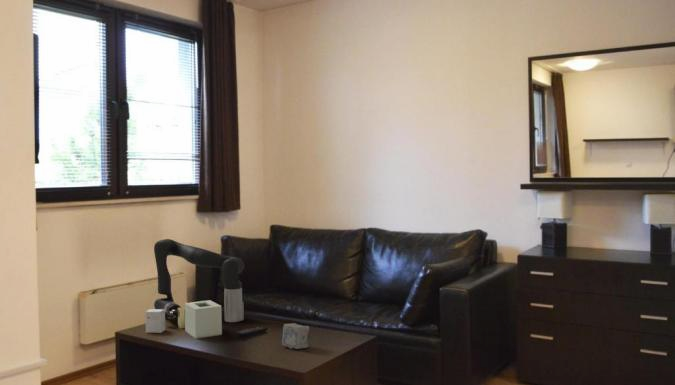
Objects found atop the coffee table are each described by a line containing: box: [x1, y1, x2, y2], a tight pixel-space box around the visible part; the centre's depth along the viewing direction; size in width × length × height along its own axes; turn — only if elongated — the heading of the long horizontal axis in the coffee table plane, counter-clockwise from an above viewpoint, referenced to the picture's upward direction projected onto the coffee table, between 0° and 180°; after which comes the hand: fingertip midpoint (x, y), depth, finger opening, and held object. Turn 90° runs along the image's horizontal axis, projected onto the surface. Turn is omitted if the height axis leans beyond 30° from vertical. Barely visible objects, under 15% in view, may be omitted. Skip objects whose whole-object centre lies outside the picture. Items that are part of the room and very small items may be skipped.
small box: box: [144, 308, 166, 334], centre depth 298 cm, size 8×6×10 cm
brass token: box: [177, 306, 185, 330], centre depth 305 cm, size 2×3×10 cm
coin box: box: [184, 299, 223, 340], centre depth 295 cm, size 13×16×14 cm
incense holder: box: [281, 322, 310, 350], centre depth 269 cm, size 10×8×10 cm
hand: (181, 316), depth 304 cm, fingers open, 8 cm apart
